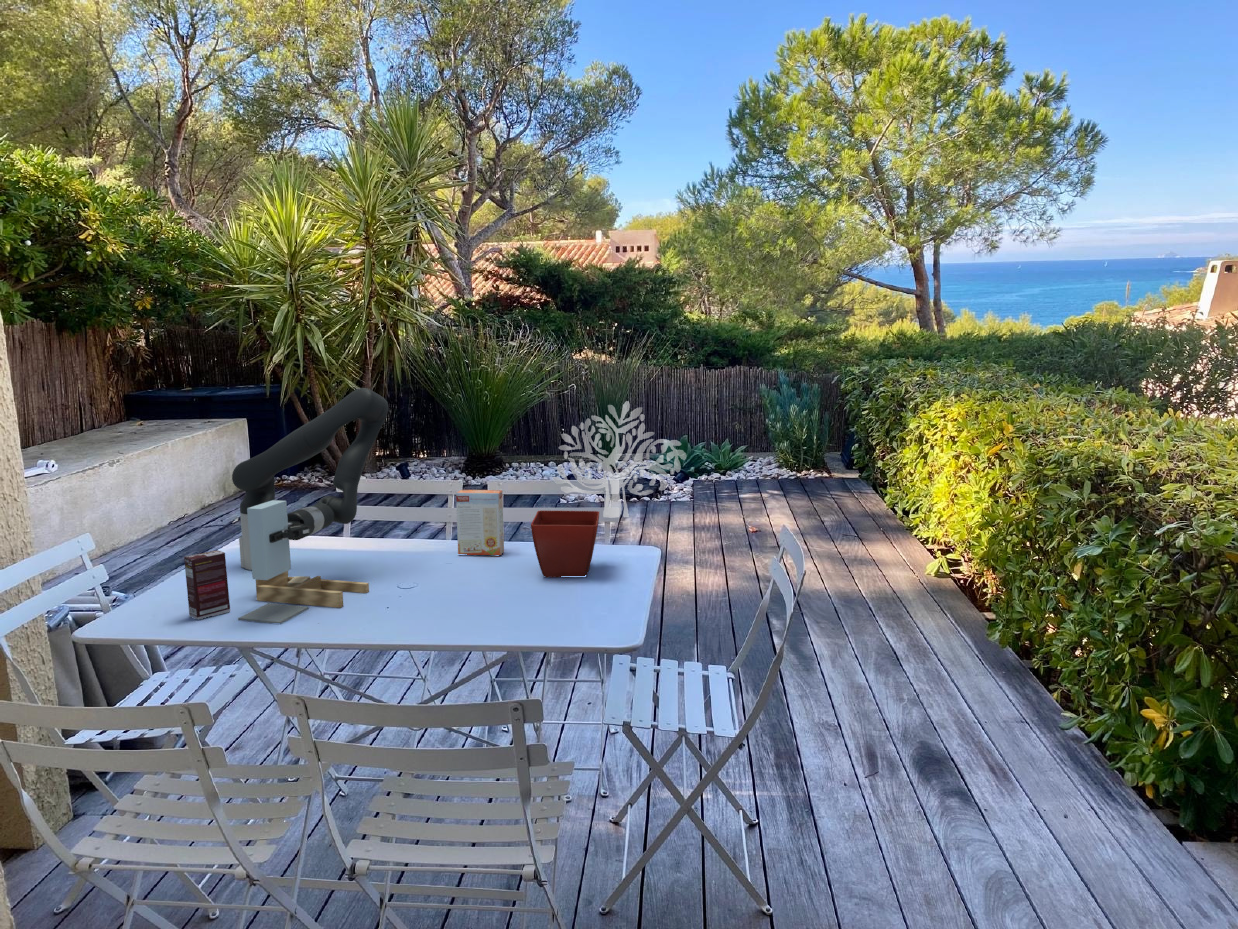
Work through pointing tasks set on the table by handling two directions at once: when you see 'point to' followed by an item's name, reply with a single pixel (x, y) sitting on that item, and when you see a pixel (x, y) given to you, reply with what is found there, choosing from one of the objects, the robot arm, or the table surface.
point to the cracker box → (480, 522)
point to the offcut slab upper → (297, 580)
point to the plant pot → (564, 541)
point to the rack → (307, 591)
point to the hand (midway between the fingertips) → (262, 538)
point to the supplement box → (207, 584)
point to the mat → (273, 613)
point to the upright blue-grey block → (264, 554)
